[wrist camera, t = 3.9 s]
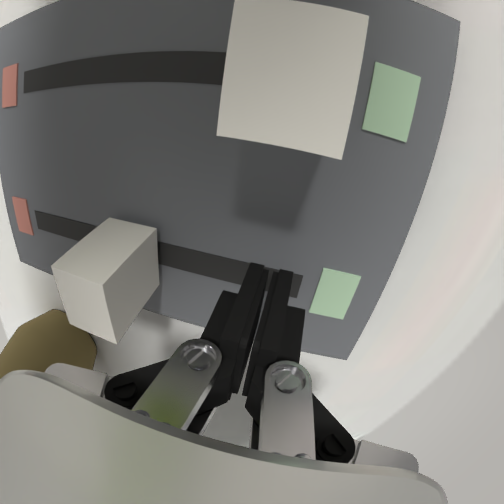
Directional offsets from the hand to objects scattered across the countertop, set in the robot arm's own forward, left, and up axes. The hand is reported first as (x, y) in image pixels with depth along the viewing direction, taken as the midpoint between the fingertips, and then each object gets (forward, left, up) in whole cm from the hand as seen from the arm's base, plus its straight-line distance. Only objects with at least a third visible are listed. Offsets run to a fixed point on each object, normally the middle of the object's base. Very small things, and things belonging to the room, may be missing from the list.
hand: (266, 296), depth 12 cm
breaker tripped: (0, -6, -1) cm, 6 cm away
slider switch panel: (-4, -6, -3) cm, 8 cm away
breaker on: (-8, 0, -1) cm, 8 cm away
